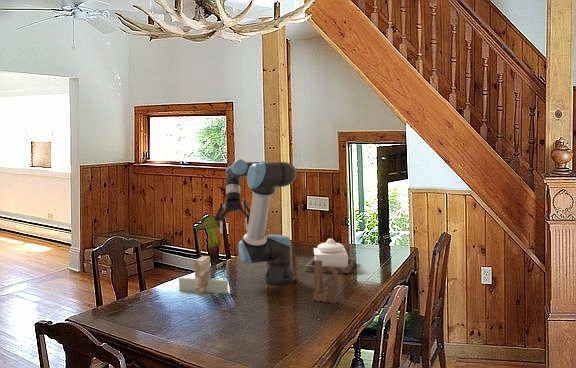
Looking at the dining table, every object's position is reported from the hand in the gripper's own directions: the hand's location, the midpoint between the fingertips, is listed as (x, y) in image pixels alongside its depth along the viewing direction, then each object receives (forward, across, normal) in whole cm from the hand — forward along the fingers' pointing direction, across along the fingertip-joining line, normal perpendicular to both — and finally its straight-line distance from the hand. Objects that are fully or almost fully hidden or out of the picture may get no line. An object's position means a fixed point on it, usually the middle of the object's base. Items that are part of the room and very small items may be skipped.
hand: (234, 231), depth 302 cm
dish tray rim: (+13, -45, -37) cm, 60 cm away
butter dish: (+13, -45, -37) cm, 60 cm away
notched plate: (+33, +13, +12) cm, 37 cm away
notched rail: (+33, +13, +12) cm, 37 cm away
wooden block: (+45, -46, +18) cm, 67 cm away
